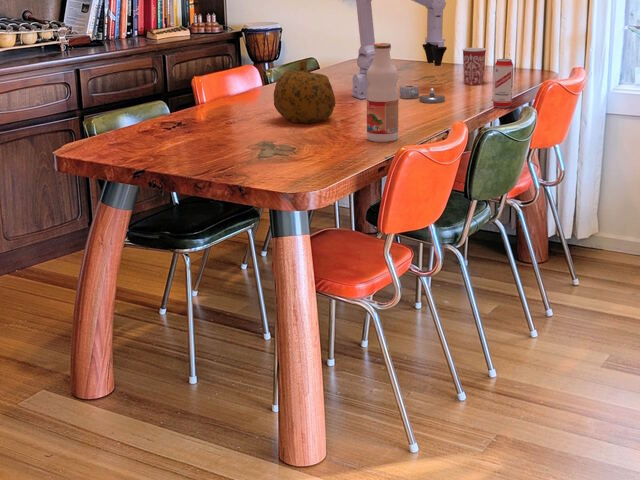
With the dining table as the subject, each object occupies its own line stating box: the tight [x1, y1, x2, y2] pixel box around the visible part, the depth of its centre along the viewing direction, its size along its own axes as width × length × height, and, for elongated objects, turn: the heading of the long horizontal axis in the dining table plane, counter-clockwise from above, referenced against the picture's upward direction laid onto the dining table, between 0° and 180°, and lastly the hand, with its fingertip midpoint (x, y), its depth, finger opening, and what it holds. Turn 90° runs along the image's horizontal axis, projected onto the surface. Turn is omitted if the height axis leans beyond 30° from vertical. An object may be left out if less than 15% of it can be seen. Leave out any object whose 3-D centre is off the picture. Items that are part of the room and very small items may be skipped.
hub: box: [419, 87, 446, 104], centre depth 328 cm, size 9×9×4 cm
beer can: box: [492, 58, 514, 109], centre depth 312 cm, size 6×6×16 cm
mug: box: [462, 47, 487, 86], centre depth 359 cm, size 13×9×14 cm
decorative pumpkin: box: [273, 60, 337, 125], centre depth 299 cm, size 20×21×20 cm
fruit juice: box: [366, 42, 400, 143], centre depth 269 cm, size 9×9×28 cm
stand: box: [399, 95, 420, 100], centre depth 335 cm, size 7×7×3 cm
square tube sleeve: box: [399, 84, 420, 98], centre depth 335 cm, size 5×5×4 cm
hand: (434, 64), depth 344 cm, fingers open, 7 cm apart
